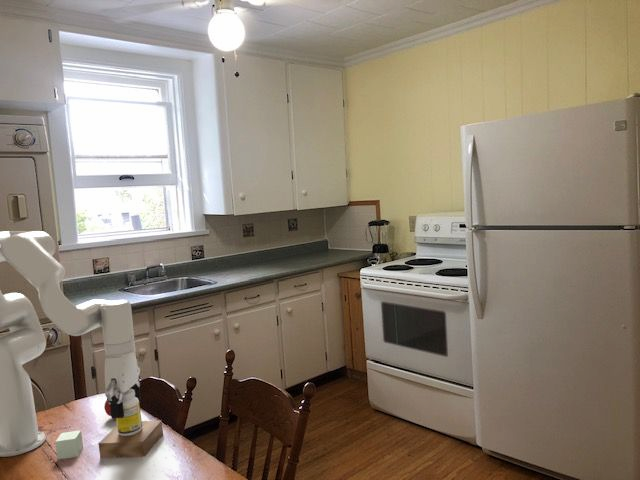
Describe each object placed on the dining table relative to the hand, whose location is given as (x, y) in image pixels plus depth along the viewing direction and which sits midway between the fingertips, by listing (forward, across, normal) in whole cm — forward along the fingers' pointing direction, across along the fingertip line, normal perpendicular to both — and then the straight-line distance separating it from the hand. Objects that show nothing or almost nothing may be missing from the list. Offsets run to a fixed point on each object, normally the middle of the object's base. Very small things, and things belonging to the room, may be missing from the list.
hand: (126, 409), depth 138 cm
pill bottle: (+6, 0, 0) cm, 6 cm away
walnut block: (+10, 0, +1) cm, 10 cm away
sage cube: (+11, +3, -15) cm, 19 cm away
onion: (+11, -18, -13) cm, 25 cm away
